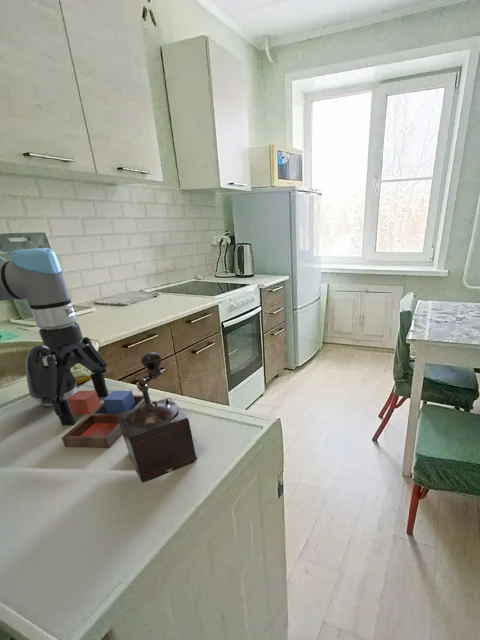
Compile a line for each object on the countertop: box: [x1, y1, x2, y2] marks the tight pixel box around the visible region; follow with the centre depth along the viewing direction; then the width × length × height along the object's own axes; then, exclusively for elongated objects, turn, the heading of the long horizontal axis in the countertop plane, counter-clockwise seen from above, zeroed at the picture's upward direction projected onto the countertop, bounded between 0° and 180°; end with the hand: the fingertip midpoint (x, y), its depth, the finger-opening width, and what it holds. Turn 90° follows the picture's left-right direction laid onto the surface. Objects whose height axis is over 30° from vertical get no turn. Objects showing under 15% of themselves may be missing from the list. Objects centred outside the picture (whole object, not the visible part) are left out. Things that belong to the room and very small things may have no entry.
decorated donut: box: [71, 363, 94, 385], centre depth 103 cm, size 10×11×4 cm
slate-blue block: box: [102, 390, 136, 414], centre depth 81 cm, size 4×4×4 cm
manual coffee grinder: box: [117, 351, 198, 483], centre depth 65 cm, size 16×11×18 cm
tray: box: [61, 394, 145, 449], centre depth 78 cm, size 10×18×3 cm, turn 175°
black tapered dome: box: [25, 343, 78, 407], centre depth 88 cm, size 10×10×15 cm
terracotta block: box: [67, 390, 101, 415], centre depth 84 cm, size 4×4×4 cm
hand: (87, 410), depth 85 cm, fingers open, 13 cm apart
